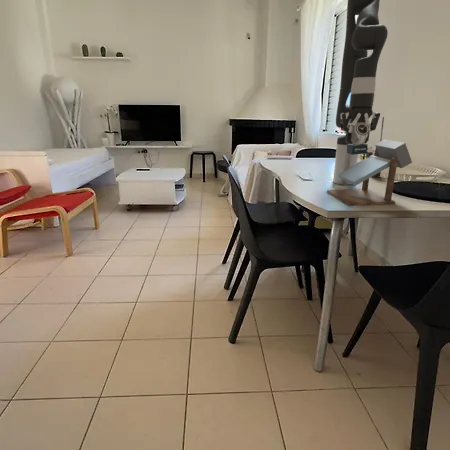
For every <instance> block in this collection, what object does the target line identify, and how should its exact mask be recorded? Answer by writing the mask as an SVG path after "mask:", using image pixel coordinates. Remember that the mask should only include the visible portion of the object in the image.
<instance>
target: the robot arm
mask: <svg viewBox="0 0 450 450" xmlns="http://www.w3.org/2000/svg"><path fill="white" fill-rule="evenodd" d="M380 3H381V2H380V0H347V4H346V5H347V7H346V9H347V10H346V23H345V24H346V27H345V39H344V47H343V53H342V54H343V55H342V64H341V75H340V87H339V95H338V103H337V106H336V107H337V108H336V115H335V125H336V127H337V128H339V129H340V131H343V132H344V133H345V134H344V135H341V136H339V137H338V138H337V141H336V151H335V160H334V171H333V181H332V182H333V183H334V184H336V185H343V186H344V185H352V184H351V183H349V182H347V181H345V180H343V179H341V178H339V176H338V174H340V173H341V172H343V171H345V170H347V169H348V168H350V167H352V166H354V165H355V164H357V163H358V157H359V154H355V155H351V154H348V153H347V144H353V142H352V141H351V138H352V133H351V132H352V130H353V128H354V127H355V125H356V123H361V122H364V123H366V124H367V125H368V126H369V128H370V130H369V133H368V136H367V138H366V140H365V142H364V144H367V143H368V142H369V140H370V139H369V138H370V133H371V132H372V131H375V130H376V129H377V125H378V124H379V120H380V117H381V113H380V112H374V111H373V106H374V98H375V91H376V77H377V69H378V63H379V60H380V56H381V54H382V51H383V48H384V46H385V43H386V41H387V38H388V28H387V26H385V24H380V21H379V20H380V19H379V10H380ZM356 16H357V17H356ZM368 51H372V52H371V54H370V55H369V56H368ZM349 97H350V98H349ZM348 98H349V104H348V105H347V101H348ZM369 119H371V121H370V120H369ZM358 141H359V139H358Z"/></svg>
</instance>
